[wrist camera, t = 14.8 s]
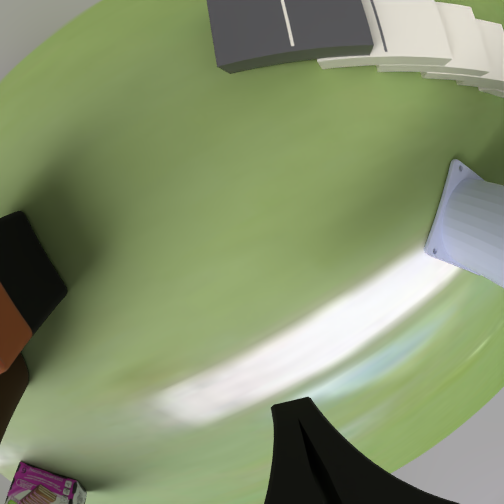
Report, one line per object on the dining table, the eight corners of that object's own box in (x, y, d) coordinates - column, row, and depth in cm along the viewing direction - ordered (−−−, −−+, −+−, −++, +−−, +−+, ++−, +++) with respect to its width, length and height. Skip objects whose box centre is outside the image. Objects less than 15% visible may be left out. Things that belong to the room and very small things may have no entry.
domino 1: (217, 66, 13) (373, 44, 10) (205, -6, 11) (350, -30, 9) (230, 73, 15) (369, 55, 12) (218, 6, 13) (349, -14, 11)
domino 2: (307, 5, 13) (424, 0, 10) (322, 69, 15) (443, 66, 12) (300, -8, 12) (429, -12, 9) (317, 61, 13) (452, 58, 10)
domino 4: (407, 21, 14) (492, 31, 11) (421, 78, 16) (507, 86, 13) (410, 11, 12) (501, 24, 9) (426, 72, 14) (517, 83, 11)
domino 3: (362, 11, 14) (463, 16, 11) (377, 72, 15) (480, 76, 12) (361, 0, 12) (470, 6, 9) (379, 65, 14) (490, 71, 11)
